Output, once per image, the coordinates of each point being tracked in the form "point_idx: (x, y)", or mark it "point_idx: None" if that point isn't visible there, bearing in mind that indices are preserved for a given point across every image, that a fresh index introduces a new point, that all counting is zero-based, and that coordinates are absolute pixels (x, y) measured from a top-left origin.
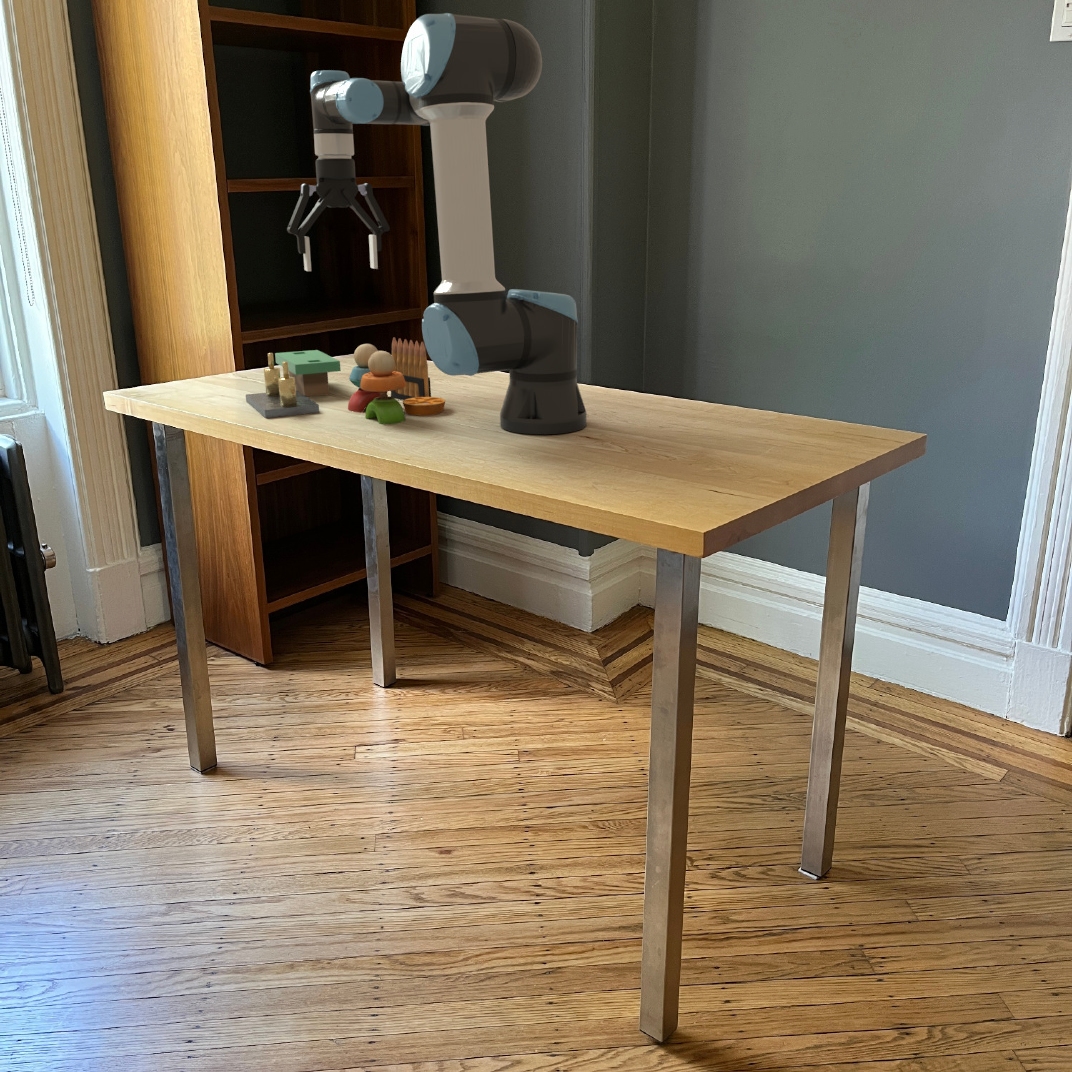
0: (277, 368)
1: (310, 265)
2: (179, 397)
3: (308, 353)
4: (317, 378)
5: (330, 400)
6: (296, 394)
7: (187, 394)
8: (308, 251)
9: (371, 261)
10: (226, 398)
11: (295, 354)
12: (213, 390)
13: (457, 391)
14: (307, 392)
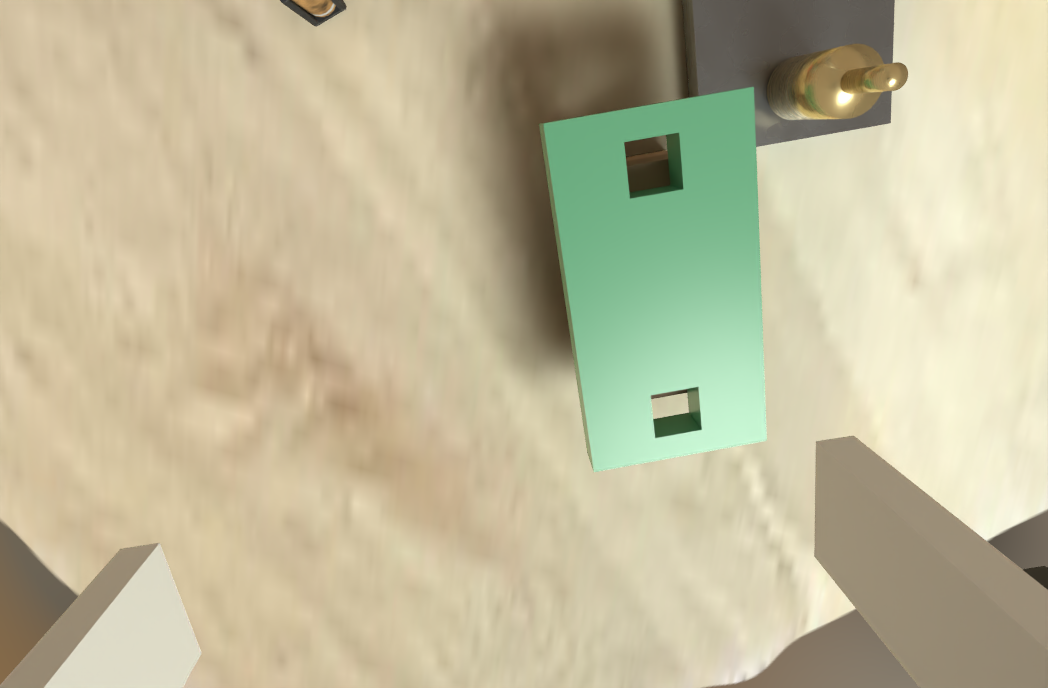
0: (827, 81)
1: (852, 469)
2: (1042, 293)
3: (642, 392)
4: (627, 163)
5: (584, 45)
6: (718, 50)
7: (1007, 338)
8: (976, 563)
9: (155, 667)
10: (915, 223)
11: (697, 382)
12: (919, 382)
13: (55, 57)
14: (658, 152)
